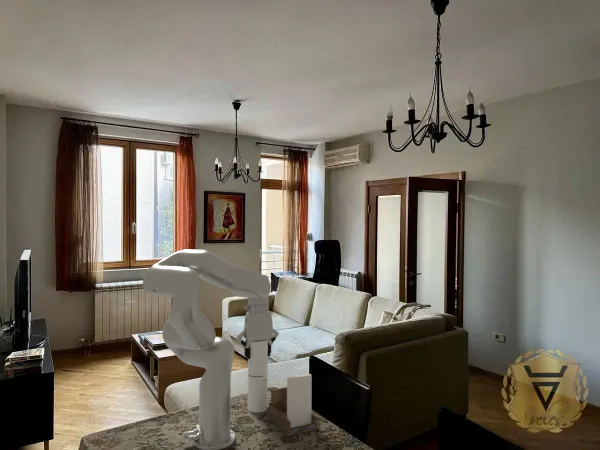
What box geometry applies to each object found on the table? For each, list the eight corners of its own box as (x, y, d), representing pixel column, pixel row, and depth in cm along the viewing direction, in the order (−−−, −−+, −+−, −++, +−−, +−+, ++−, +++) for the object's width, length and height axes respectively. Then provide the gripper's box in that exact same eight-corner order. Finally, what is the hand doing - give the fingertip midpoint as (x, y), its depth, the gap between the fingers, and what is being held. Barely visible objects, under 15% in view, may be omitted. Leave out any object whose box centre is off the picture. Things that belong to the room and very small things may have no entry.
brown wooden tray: (288, 435, 127) (288, 408, 127) (268, 414, 141) (268, 390, 142) (317, 428, 131) (317, 402, 131) (295, 409, 146) (295, 385, 146)
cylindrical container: (245, 406, 148) (245, 338, 149) (263, 402, 151) (263, 336, 152) (251, 413, 142) (251, 342, 143) (270, 410, 145) (270, 340, 146)
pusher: (288, 428, 129) (288, 378, 130) (286, 427, 130) (287, 377, 131) (311, 423, 133) (311, 374, 133) (309, 422, 134) (309, 373, 134)
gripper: (238, 311, 140) (238, 362, 140) (284, 308, 148) (283, 356, 148) (232, 308, 147) (231, 357, 147) (276, 305, 155) (275, 351, 154)
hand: (257, 356), depth 147 cm, fingers closed on cylindrical container, 7 cm apart
